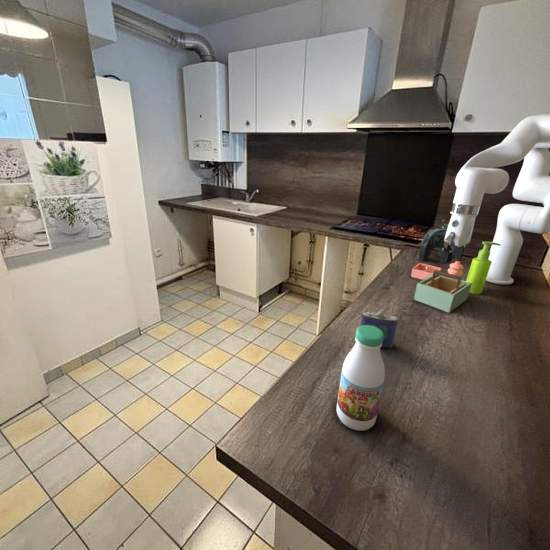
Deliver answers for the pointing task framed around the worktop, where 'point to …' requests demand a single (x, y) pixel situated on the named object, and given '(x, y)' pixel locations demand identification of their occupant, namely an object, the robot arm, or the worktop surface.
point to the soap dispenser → (480, 269)
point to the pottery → (427, 270)
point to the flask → (382, 325)
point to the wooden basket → (445, 282)
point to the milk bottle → (362, 380)
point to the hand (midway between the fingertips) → (450, 260)
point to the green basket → (441, 295)
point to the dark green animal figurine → (433, 241)
